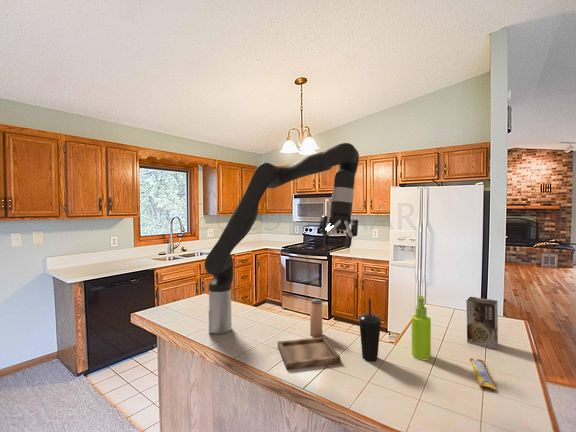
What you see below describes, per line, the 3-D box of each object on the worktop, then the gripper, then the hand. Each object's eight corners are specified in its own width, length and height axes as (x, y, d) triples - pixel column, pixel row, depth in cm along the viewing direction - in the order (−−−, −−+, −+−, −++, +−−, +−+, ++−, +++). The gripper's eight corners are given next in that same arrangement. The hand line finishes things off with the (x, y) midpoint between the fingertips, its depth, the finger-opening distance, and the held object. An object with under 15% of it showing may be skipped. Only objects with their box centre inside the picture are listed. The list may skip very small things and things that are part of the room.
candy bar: (469, 362, 97) (469, 356, 97) (484, 364, 95) (484, 358, 95) (478, 390, 81) (478, 383, 81) (496, 394, 80) (496, 387, 80)
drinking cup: (383, 365, 94) (382, 303, 94) (358, 362, 96) (358, 302, 96) (380, 353, 102) (380, 296, 102) (358, 351, 103) (357, 295, 103)
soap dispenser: (429, 351, 103) (428, 295, 103) (431, 361, 96) (431, 300, 96) (411, 349, 105) (410, 293, 105) (412, 358, 98) (412, 299, 98)
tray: (286, 369, 92) (286, 363, 92) (277, 347, 108) (277, 341, 108) (340, 363, 96) (340, 357, 96) (324, 342, 111) (324, 336, 111)
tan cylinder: (312, 337, 115) (312, 302, 115) (309, 333, 120) (308, 299, 120) (324, 336, 116) (323, 301, 116) (320, 331, 121) (320, 298, 121)
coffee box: (498, 343, 108) (498, 300, 108) (495, 350, 104) (495, 304, 104) (470, 336, 115) (470, 295, 114) (466, 342, 110) (466, 299, 110)
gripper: (353, 203, 109) (348, 246, 109) (319, 198, 104) (314, 244, 104) (365, 203, 102) (359, 249, 102) (329, 198, 97) (323, 246, 97)
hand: (336, 246), depth 103 cm, fingers open, 8 cm apart
